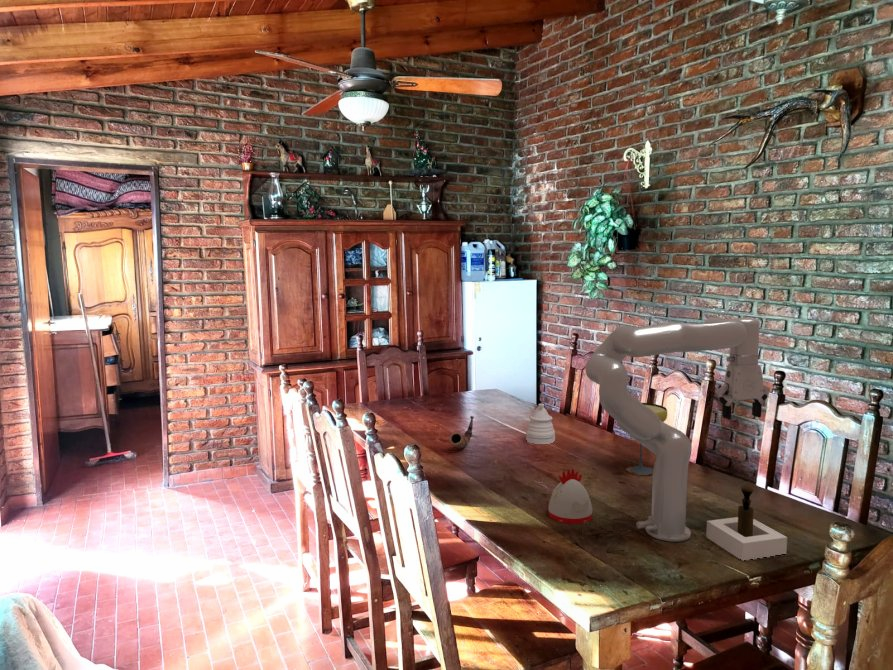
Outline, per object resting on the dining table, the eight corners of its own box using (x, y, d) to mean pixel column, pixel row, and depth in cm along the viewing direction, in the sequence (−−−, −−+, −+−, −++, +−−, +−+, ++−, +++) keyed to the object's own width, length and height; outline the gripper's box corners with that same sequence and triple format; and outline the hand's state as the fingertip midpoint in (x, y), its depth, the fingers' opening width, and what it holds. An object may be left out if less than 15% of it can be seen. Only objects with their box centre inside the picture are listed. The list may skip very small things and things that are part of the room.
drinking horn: (448, 454, 260) (448, 431, 259) (466, 436, 288) (466, 415, 287) (461, 455, 259) (461, 432, 258) (478, 437, 287) (478, 415, 285)
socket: (742, 561, 166) (743, 543, 165) (706, 537, 180) (706, 520, 180) (786, 554, 169) (787, 537, 169) (747, 531, 184) (748, 515, 183)
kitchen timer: (540, 510, 201) (540, 465, 199) (576, 503, 206) (576, 460, 205) (563, 526, 188) (564, 479, 187) (601, 519, 193) (602, 473, 192)
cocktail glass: (648, 482, 225) (651, 415, 222) (606, 470, 239) (608, 407, 236) (674, 471, 237) (676, 407, 234) (632, 460, 250) (634, 400, 248)
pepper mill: (735, 538, 179) (738, 478, 177) (759, 544, 175) (763, 483, 173) (728, 546, 174) (731, 485, 172) (753, 553, 170) (757, 490, 168)
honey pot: (557, 446, 270) (557, 406, 268) (527, 447, 270) (528, 406, 268) (552, 438, 283) (553, 400, 281) (524, 438, 283) (524, 400, 281)
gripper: (724, 363, 175) (722, 422, 177) (779, 360, 178) (776, 418, 180) (709, 359, 183) (707, 416, 185) (761, 357, 186) (759, 412, 188)
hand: (741, 417), depth 183 cm, fingers open, 9 cm apart
